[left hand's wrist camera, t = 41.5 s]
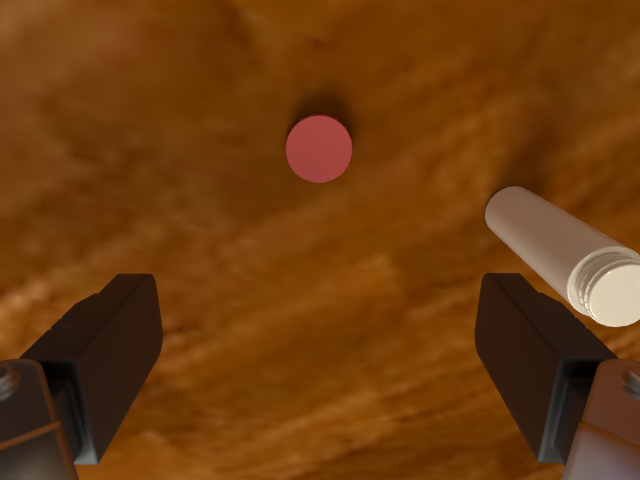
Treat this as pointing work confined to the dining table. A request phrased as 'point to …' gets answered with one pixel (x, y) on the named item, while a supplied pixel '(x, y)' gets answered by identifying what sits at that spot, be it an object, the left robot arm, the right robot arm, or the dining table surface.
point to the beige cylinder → (569, 255)
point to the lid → (319, 147)
